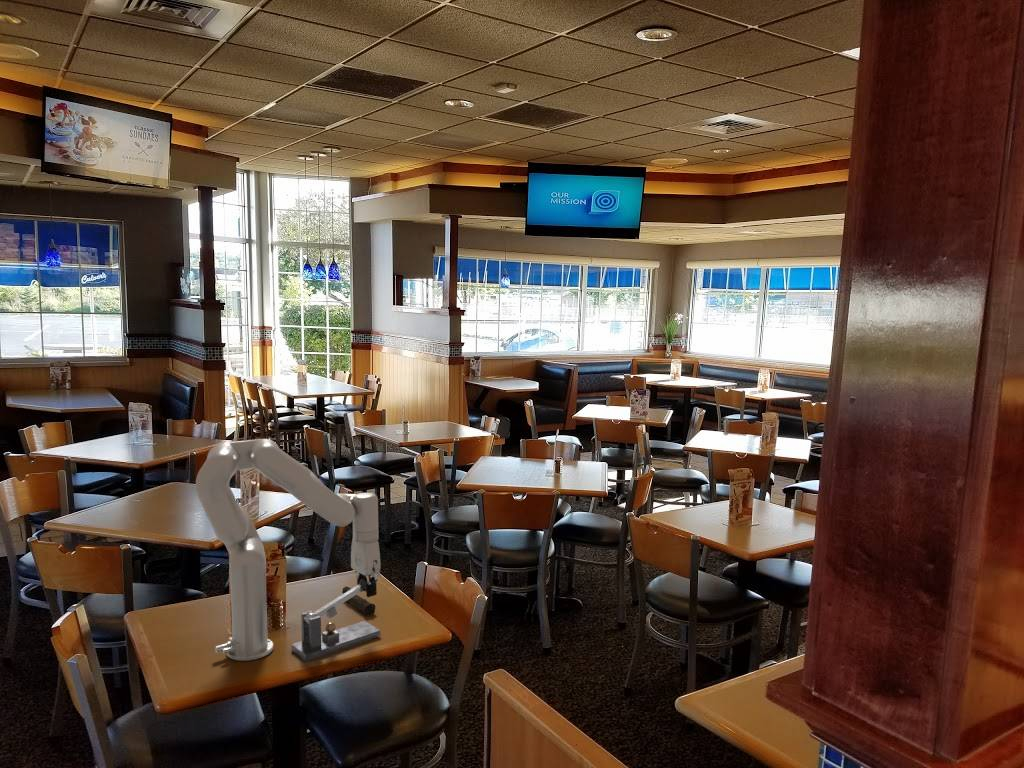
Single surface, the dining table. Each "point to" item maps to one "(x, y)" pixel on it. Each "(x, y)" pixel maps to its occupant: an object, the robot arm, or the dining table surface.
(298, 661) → the dining table surface
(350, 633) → the nutcracker bench
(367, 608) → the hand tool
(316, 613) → the lever
